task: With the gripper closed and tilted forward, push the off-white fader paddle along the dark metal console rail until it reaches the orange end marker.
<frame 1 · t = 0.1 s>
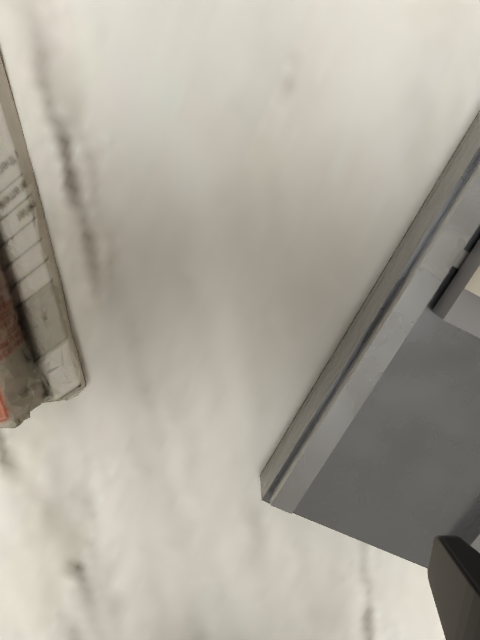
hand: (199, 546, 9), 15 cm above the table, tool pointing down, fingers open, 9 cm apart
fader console: (474, 339, 23), on the table
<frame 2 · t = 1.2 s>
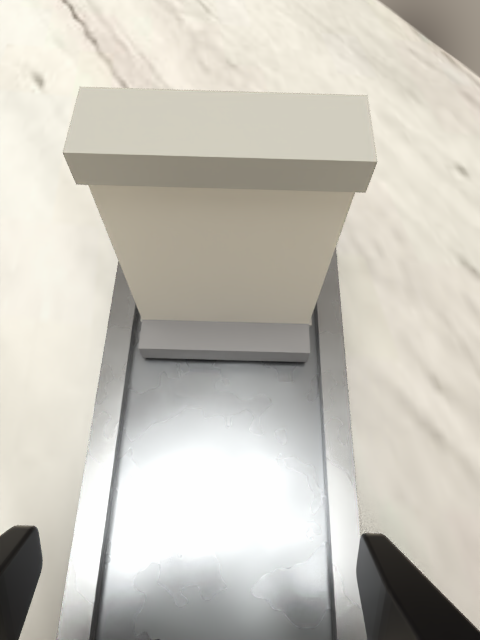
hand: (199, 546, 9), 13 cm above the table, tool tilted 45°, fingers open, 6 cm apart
fader paddle: (224, 246, 18), point 8 cm above the table, slide at 0.0 cm
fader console: (224, 384, 24), on the table
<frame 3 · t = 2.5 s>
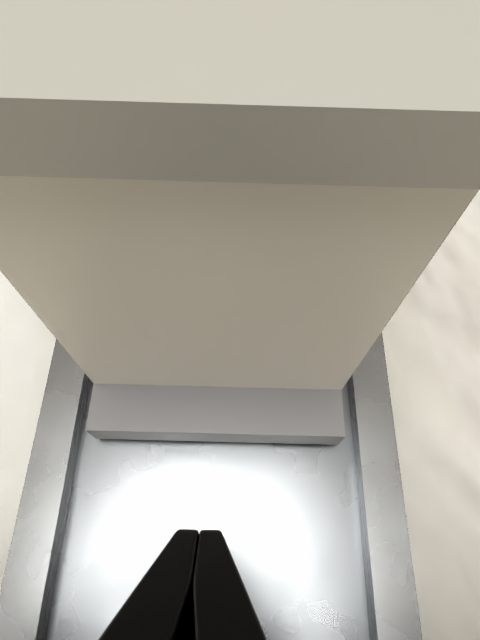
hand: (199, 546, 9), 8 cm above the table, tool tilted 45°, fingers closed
fader paddle: (214, 283, 11), point 8 cm above the table, slide at 0.0 cm
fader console: (217, 468, 17), on the table
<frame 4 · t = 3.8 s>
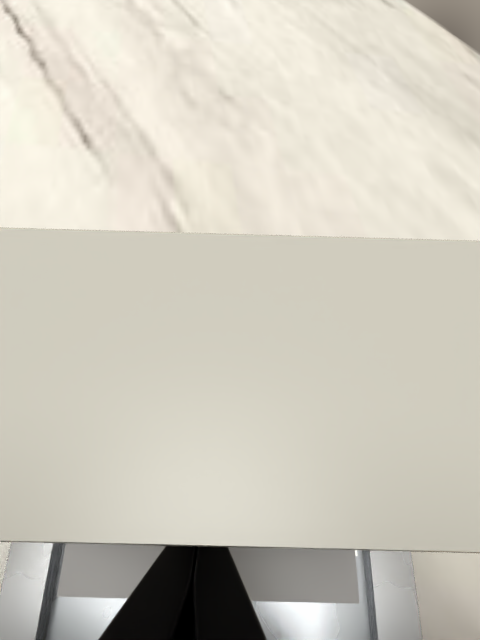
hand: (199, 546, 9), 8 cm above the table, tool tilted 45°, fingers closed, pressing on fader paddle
fader paddle: (204, 474, 9), point 8 cm above the table, slide at 1.0 cm, touching gripper
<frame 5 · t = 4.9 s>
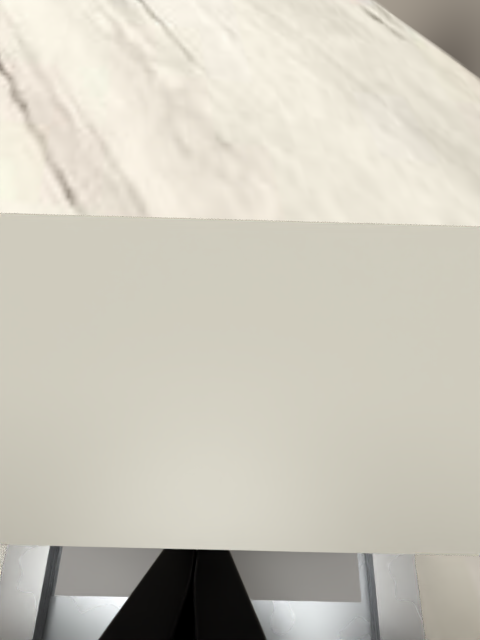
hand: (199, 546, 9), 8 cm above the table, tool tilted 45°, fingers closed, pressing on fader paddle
fader paddle: (203, 471, 9), point 8 cm above the table, slide at 5.2 cm, touching gripper
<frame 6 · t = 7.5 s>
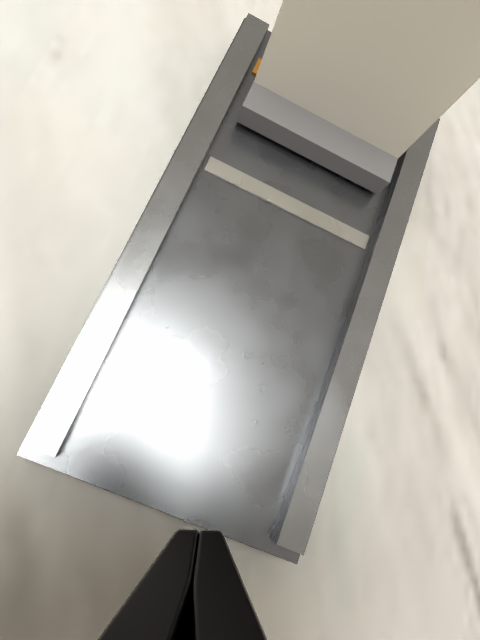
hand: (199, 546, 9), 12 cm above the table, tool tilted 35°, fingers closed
fader paddle: (384, 26, 18), point 8 cm above the table, slide at 5.2 cm
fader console: (256, 269, 24), on the table
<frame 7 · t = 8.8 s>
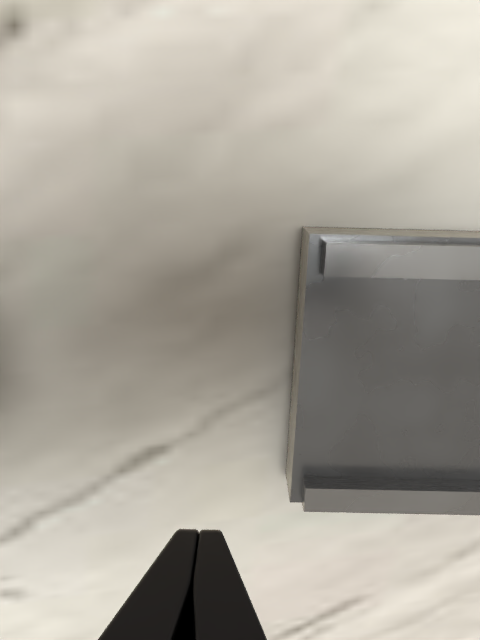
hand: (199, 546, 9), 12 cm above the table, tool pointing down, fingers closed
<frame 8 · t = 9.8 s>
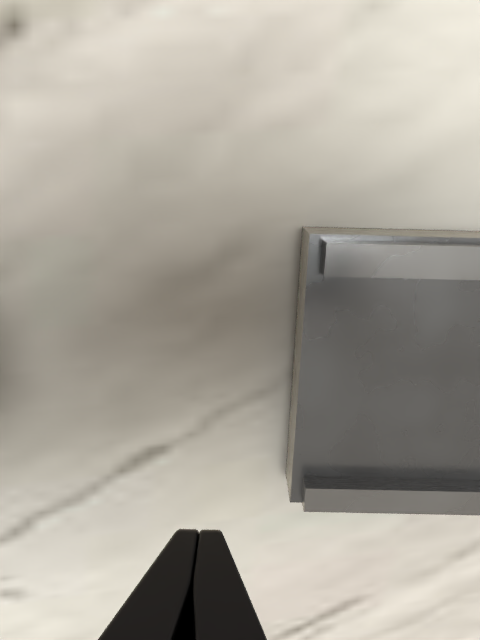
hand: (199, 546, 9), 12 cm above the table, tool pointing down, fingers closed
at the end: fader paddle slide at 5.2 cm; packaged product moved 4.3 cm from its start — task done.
